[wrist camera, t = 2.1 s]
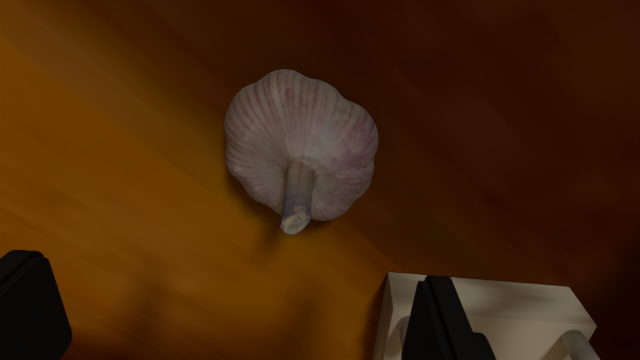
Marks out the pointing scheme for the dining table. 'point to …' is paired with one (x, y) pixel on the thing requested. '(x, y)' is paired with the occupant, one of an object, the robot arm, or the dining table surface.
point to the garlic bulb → (299, 147)
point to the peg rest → (497, 318)
